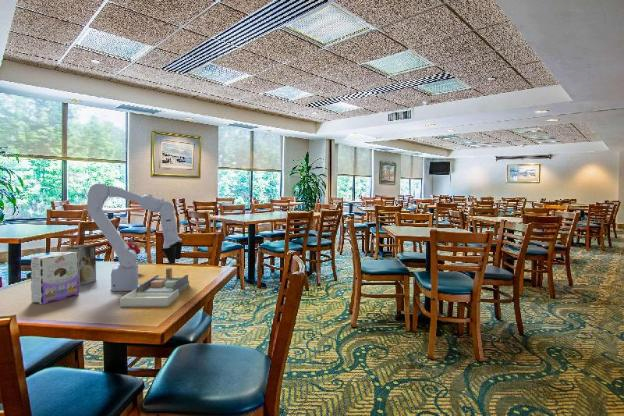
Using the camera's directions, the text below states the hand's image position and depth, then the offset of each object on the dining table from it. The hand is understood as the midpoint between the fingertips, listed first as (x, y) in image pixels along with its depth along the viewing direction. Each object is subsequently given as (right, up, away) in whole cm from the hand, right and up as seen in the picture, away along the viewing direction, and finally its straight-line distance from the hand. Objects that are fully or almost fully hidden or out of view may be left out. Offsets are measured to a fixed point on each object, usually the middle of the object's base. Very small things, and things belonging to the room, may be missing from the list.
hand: (175, 261), depth 160 cm
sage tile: (+2, -8, -10) cm, 13 cm away
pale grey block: (-1, -8, -5) cm, 9 cm away
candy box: (-36, -11, -22) cm, 43 cm away
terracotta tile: (-3, -8, -10) cm, 14 cm away
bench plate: (-1, -10, -10) cm, 14 cm away
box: (0, -11, -24) cm, 27 cm away
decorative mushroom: (-30, -9, +23) cm, 39 cm away
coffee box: (-41, -10, +2) cm, 42 cm away
